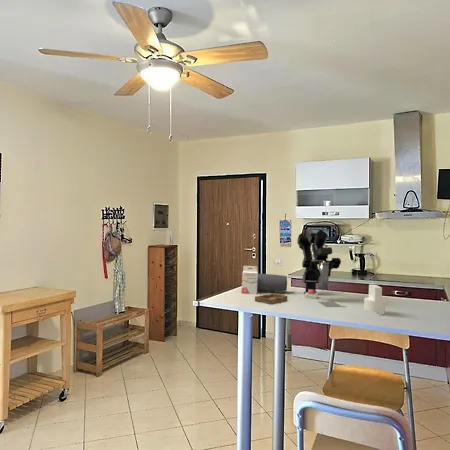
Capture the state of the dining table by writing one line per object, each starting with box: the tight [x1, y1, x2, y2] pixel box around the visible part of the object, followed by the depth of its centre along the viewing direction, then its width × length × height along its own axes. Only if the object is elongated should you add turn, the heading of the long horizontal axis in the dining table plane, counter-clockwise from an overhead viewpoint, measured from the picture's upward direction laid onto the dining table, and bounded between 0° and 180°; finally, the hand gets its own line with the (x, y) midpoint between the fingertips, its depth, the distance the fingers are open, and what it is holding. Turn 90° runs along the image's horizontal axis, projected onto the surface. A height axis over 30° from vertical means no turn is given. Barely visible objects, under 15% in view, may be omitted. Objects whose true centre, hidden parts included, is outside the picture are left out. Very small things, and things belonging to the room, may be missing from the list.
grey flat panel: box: [318, 301, 347, 308], centre depth 192 cm, size 12×10×1 cm
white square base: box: [303, 292, 319, 300], centre depth 209 cm, size 6×6×3 cm
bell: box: [317, 261, 330, 291], centre depth 202 cm, size 5×5×14 cm
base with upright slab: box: [363, 284, 386, 315], centre depth 183 cm, size 9×9×12 cm
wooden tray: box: [254, 293, 288, 305], centre depth 202 cm, size 14×10×2 cm
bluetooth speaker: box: [257, 273, 288, 294], centre depth 229 cm, size 23×9×10 cm, turn 77°
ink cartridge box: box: [241, 265, 259, 295], centre depth 223 cm, size 9×5×15 cm, turn 84°
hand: (324, 276), depth 200 cm, fingers closed on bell, 5 cm apart
